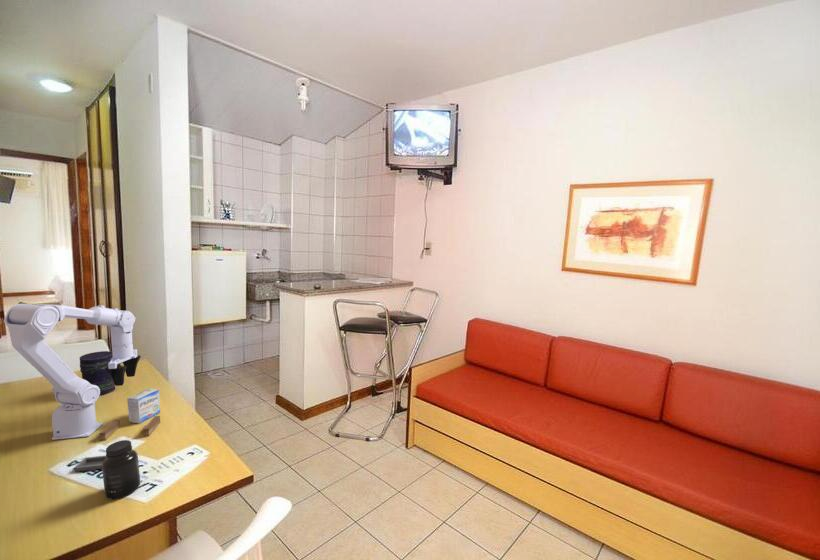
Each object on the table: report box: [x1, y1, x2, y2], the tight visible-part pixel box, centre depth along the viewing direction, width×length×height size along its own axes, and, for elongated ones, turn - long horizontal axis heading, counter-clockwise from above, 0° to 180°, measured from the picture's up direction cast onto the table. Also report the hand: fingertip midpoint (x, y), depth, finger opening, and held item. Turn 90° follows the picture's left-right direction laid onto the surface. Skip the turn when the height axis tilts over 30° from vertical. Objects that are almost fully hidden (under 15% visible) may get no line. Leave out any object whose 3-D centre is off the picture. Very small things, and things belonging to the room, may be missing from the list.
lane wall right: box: [142, 415, 161, 437], centre depth 113 cm, size 2×8×2 cm, turn 14°
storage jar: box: [79, 350, 116, 397], centre depth 137 cm, size 10×10×15 cm
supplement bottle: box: [101, 439, 141, 500], centre depth 86 cm, size 7×7×12 cm
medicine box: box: [126, 388, 161, 424], centre depth 120 cm, size 8×4×9 cm, turn 168°
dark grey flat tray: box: [74, 455, 107, 473], centre depth 96 cm, size 9×4×1 cm, turn 104°
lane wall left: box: [99, 418, 121, 442], centre depth 111 cm, size 2×8×2 cm, turn 14°
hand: (125, 380), depth 125 cm, fingers open, 7 cm apart
